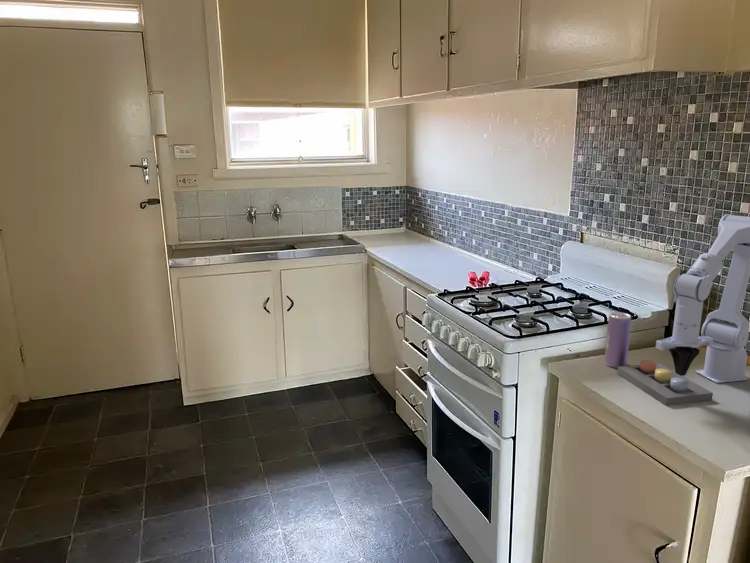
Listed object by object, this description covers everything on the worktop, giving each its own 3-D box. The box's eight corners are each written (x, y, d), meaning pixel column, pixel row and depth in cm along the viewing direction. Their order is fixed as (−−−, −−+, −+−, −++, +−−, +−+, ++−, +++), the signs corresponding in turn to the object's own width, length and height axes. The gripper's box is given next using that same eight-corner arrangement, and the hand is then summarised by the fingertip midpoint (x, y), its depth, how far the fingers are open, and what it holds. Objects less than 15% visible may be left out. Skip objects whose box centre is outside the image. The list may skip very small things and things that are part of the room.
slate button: (680, 384, 147) (681, 376, 146) (691, 391, 143) (692, 383, 142) (666, 386, 146) (667, 378, 145) (677, 392, 142) (678, 384, 142)
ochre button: (664, 375, 152) (665, 367, 152) (674, 381, 148) (675, 373, 148) (650, 376, 152) (651, 369, 151) (661, 383, 148) (661, 375, 147)
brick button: (649, 366, 158) (650, 359, 157) (659, 372, 154) (660, 365, 154) (636, 368, 157) (637, 360, 157) (646, 373, 153) (646, 366, 153)
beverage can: (628, 369, 162) (633, 318, 158) (606, 367, 163) (611, 317, 159) (624, 361, 167) (629, 312, 164) (602, 359, 169) (607, 311, 165)
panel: (658, 369, 161) (659, 362, 161) (711, 400, 142) (712, 393, 142) (616, 373, 159) (617, 366, 158) (665, 405, 140) (666, 398, 139)
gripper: (672, 330, 135) (665, 383, 138) (725, 325, 137) (717, 377, 141) (652, 320, 141) (646, 371, 145) (703, 316, 144) (696, 366, 148)
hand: (680, 374), depth 143 cm, fingers closed
